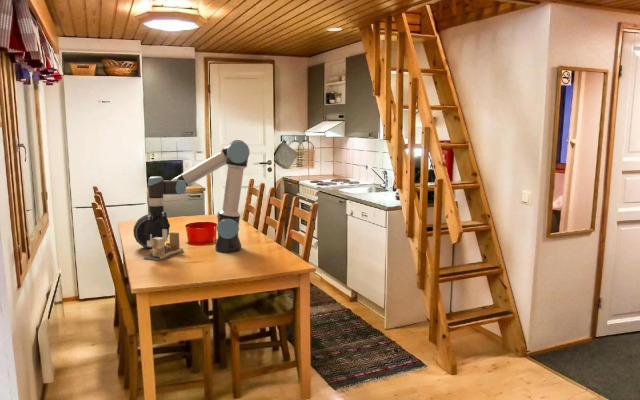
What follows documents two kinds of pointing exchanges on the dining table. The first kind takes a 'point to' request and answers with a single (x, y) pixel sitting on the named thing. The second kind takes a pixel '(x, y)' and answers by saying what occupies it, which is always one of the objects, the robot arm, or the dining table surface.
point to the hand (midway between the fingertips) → (157, 243)
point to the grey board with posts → (169, 248)
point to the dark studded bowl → (140, 229)
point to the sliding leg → (158, 247)
